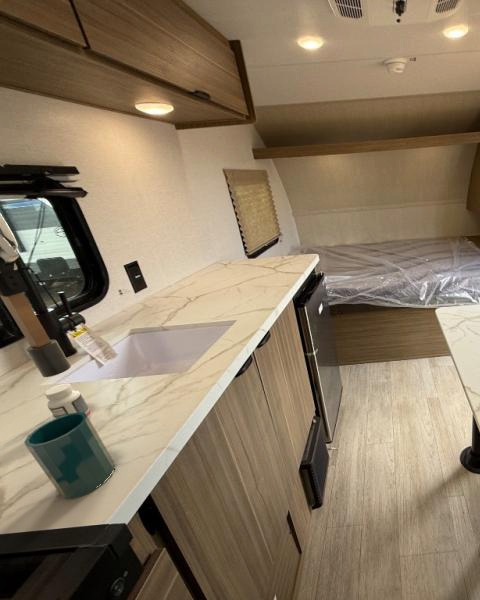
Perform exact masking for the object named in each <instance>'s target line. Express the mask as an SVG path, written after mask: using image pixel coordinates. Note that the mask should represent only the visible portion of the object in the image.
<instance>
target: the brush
mask: <svg viewBox="0 0 480 600" xmlns="http://www.w3.org/2000/svg"><path fill="white" fill-rule="evenodd" d="M0 299H1V300H2V302H3V303H4V305H5V307H6V308H7V310H8V312H9V313H10V314H11V317H12V318H13V319H14V321H15V323H16V325H17V326H18V328H19V329H20V331H21V333H22V334H23V336H24V338H25V339H26V341H27V342H28V344H29V346H28V347H27V348H26V349H25V350H26V352H27V354H28V355H29V356H30V358H31V360H32V361H33V363H34V364H35V366H36V368H37V370H38V372H39V373H40V374H41V376H42V377H43V378H51V377H54V376H55V377H56V376H58V375H60V374H63V373H65V372H67V371H68V370H70V368H71V367H72V366H71V364H70V362H69V360H68V359H67V357H66V355H65V353H64V351H63V349H62V348H61V346H60V344H59V342H58V341H57V340H56V339H50V337H49V336H48V334H47V332H46V330H45V329H44V327H43V325H42V324H41V322H40V320H39V318H38V317H37V315H36V313H35V311H34V310H33V308H32V306H31V304H30V303H29V301H28V299H27V298H26V296H25V294H24V292H22V293H19V294H15V295H12V296H9V297H4V296H2V294H1V293H0Z"/></svg>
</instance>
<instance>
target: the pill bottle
mask: <svg viewBox="0 0 480 600" xmlns="http://www.w3.org/2000/svg"><path fill="white" fill-rule="evenodd" d="M44 396H45V397H46V399H47V400H48V402H47V403H46V405H47V408H48V410H49V411H50V413H51V414H52V416H53V417H54V419H56V418H58V417H61V416H64V415H67V414H71V413H77V412H81V413H86V415H87V416H88V418H89V419H90V417H91V416H92V411H91V409H90V408H89V406H88V404H87V403H86V401H85V399H84V398H83V395H82V394H81V393H80V391H78V390H75V389H74V388H73V386H72V385H71V383H67V382H66V383H60V384H58V385H54V386H52V387H51V388H49V389H47V390H46V391H44Z"/></svg>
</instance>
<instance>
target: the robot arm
mask: <svg viewBox="0 0 480 600" xmlns="http://www.w3.org/2000/svg"><path fill="white" fill-rule="evenodd" d="M18 247H19V244H18V241H17V239H16V237H15V235H14V233H13V231H12V230H11V227H10V226H9V224H8V223H7V221H6V220H5V217H4V216H3V215H2V213H1V212H0V293H1V294H2V296H4V297H9V296H12V295H15V294H19V293H22V292H23V293H25V292H28V291H29V288H28V287H27V284H26V283H25V281H24V279H23V278H22V276H21V274H20V272H19V271H18V269H19V267H18V265H17V263H16V260H17V259H18V258H20V255H19V253H18V251H17V249H18Z"/></svg>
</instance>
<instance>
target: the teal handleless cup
mask: <svg viewBox="0 0 480 600" xmlns="http://www.w3.org/2000/svg"><path fill="white" fill-rule="evenodd" d="M24 445H25V447H26V449H27V450H28V451H29V453H30V454H31V456H32V457H33V458H34V460H35V461H36V463H37V464H38V466H39V467H40V468H41V470H42V471H43V472H44V474H45V475H46V477H47V478H48V479H49V481H50V482H51V484H52V486H53V487H54V488H55V489H56V491H57V492H58V493H59V494H60V495H61V497H62V498H63V499H67V500H71V499H77V498H80V497H83V496H86V495H87V494H89V492H90V493H92V492H93V491H95V490H96V489H95V488H96V487H97V486H99V485H100V484H102V483H103V482H104V481H105V480H106V479H107V478H108V477H109V476H110V474H111V473H112V471H113V470H114V467H115V465H116V463H115V461H114V459H113V458H112V456H111V454H110V452H109V451H108V449H107V447H106V445H105V444H104V442H103V440H102V438H101V437H100V435H99V434H98V432H97V430H96V428H95V427H94V425H93V423H92V421H91V420H90V417H89V418H88V416H87V415H86V413H81V412H77V413H71V414H67V415H64V416H61V417H58V418H56V419H55V418H54V419H52V420H50V421H47V422H45V423H44V424H42V425H40V426H39V427H37V428H35V429H34V430H33V431H31V433H30V434H28V435H27V437H26V438H25V440H24ZM102 485H103V484H102ZM94 489H95V490H94ZM92 490H93V491H92ZM91 491H92V492H91Z"/></svg>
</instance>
